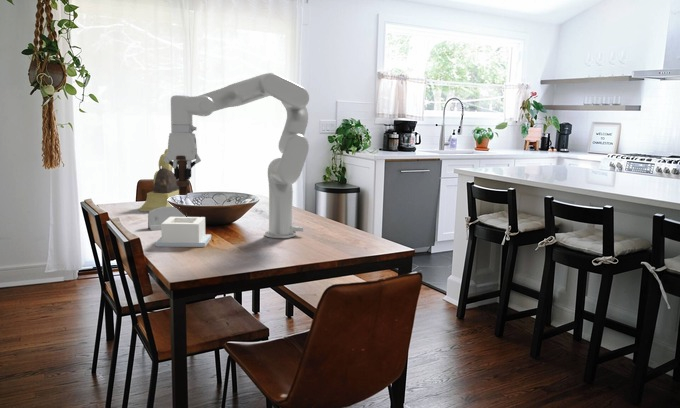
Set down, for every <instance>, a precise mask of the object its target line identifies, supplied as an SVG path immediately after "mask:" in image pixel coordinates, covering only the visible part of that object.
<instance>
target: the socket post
mask: <svg viewBox="0 0 680 408" xmlns="http://www.w3.org/2000/svg"><path fill="white" fill-rule="evenodd" d="M160 231H161V236H160V238H159V239H157V240H156V241H155V247H162V248H163V247H164V248H165V247H167V248H169V247H170V248H171V247H172V248H173V247H179V248H180V247H181V248H186V247H187V248H189V247H190V248H195V247H197V248H198V247H199V248H206V246H207V245H208V243H210V241H211V239H212V234H211V233H210V234H209V233H207V234H206V216H187V217H169V218H168V219H166V220H165V221H164V222H163V223H161V230H160Z"/></svg>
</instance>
